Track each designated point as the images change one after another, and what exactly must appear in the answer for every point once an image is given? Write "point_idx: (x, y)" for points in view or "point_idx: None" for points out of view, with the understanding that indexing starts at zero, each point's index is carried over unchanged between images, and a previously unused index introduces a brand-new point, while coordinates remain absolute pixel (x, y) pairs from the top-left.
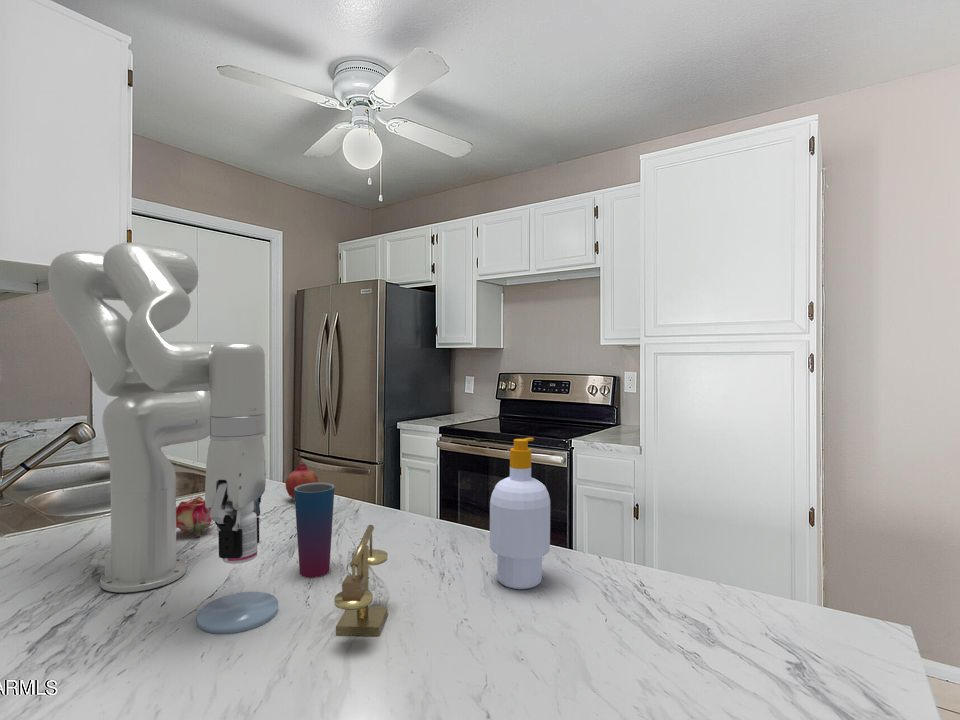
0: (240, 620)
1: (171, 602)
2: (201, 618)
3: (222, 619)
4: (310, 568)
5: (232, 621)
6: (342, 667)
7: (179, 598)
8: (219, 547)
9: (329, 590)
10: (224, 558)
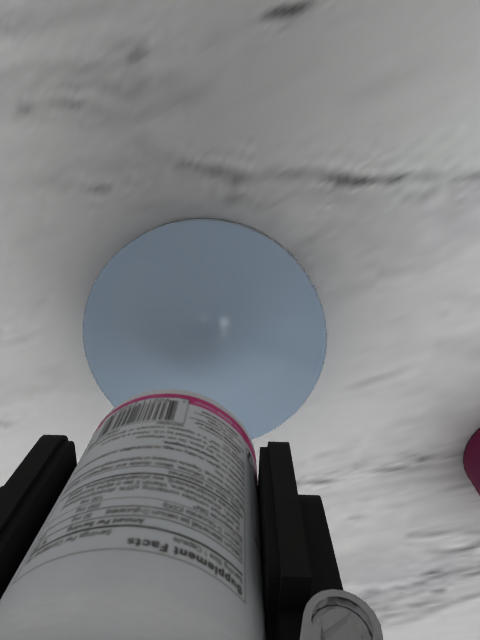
0: (126, 381)
1: (298, 41)
2: (125, 260)
3: (127, 328)
4: (477, 475)
5: (117, 362)
6: None
7: (333, 56)
8: (16, 473)
9: (362, 520)
10: (98, 427)
